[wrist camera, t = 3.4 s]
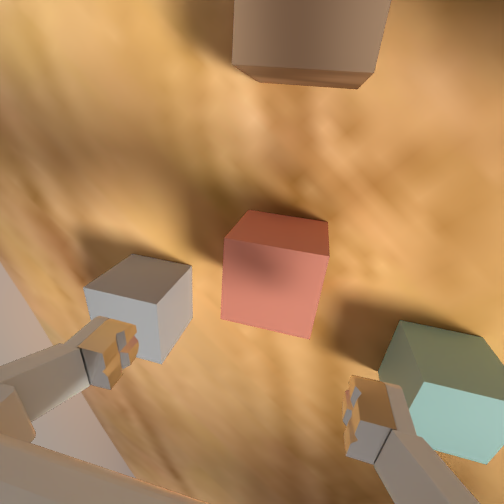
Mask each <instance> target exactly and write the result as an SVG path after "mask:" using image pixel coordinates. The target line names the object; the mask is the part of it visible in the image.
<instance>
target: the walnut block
mask: <svg viewBox="0 0 504 504" xmlns="http://www.w3.org/2000/svg"><path fill="white" fill-rule="evenodd" d="M390 4H391V0H234V23H233V47H232V65H233V66H235V67H237V68H238V69H240V70H241V71H243V72H244V73H246V74H247V75H249V76H250V77H252V78H253V79H255V80H256V81H258V82H261V83H275V84H289V85H304V86H318V87H333V88H347V89H358V88H359V87H360V86H361V85H362V84H363V83H364V82H365V81H366V80H367V79H368V78H369V77H370V76H371V75H372V74H373V73H374V71H375V66H376V62H377V58H378V54H379V50H380V45H381V41H382V37H383V33H384V29H385V24H386V20H387V16H388V12H389V8H390Z"/></svg>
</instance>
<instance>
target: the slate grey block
mask: <svg viewBox="0 0 504 504" xmlns="http://www.w3.org/2000/svg"><path fill="white" fill-rule="evenodd" d="M83 288H84V293H85V297H86V301H87V306H88V310H89V315H90V319H91V320H92V319H94V318H95V317H97V316H103V317H107V318H111V319H115V320H119V321H123V322H126V323H130V324H133V325H136V329H137V333H136V334H135V335H134V336H135V337H136V338H137V340H138V342H139V349H138V353H137V355H136V357H137V358H141V359H145V360H148V361H152V362H156V363H159V364H162V363H163V361H164V360H165V358H166V357H167V355H168V354H169V352H170V351H171V350H172V348H173V347H174V345H175V344H176V342H177V341H178V339H179V338H180V336H181V335H182V333H183V332H184V330H185V329H186V327H187V326H188V324H189V323H190V321H191V320H192V318H193V312H192V266H190V265H185V264H180V263H175V262H170V261H166V260H161V259H156V258H151V257H146V256H141V255H136V254H131V255H130V256H128V257H127V258H125V259H124V260H123V261H121V262H120V263H118V264H117V265H115V266H114V267H112V268H111V269H109V270H108V271H106V272H105V273H104V274H102V275H101V276H99V277H98V278H96V279H95V280H93V281H92V282H90V283H89V284H88V285H86V286H85V287H83Z"/></svg>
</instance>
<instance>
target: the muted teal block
mask: <svg viewBox="0 0 504 504" xmlns="http://www.w3.org/2000/svg"><path fill="white" fill-rule="evenodd" d="M378 374H379V379H380V381H382V382H386V383H390V384H395V385H399V386H400V387H401V388H402V390H403V393H404V396H405V399H406V403H407V406H408V409H409V412H410V415H411V418H412V421H413V424H414V428H415V431H416V434H417V436H420V437H423V439H424V440H425V441H426V442H427V443H428V444H429V445H430V447H431V448H432V449H433V450H436V451H440V452H443V453H447V454H451V455H454V456H458V457H461V458H465V459H468V460H472V461H476V462H479V463H483V464H486V465H487V464H488V462H489V461H490V460H491V459H492V458H493V457H494V456H495V455H496V453H497V452H498V451H499V450H500V449H501V448H502V447H503V445H504V365H503V364H502V362H501V361H500V360H499V358H498V357H497V356H496V354H495V353H494V352H493V350H492V349H491V348H490V346H489V345H488V344H487V342H486V341H485V340H484V338H483V337H479V336H474V335H469V334H464V333H460V332H455V331H450V330H445V329H441V328H436V327H431V326H426V325H421V324H417V323H412V322H407V321H402V320H400V321H399V323H398V326H397V328H396V330H395V333H394V335H393V337H392V340H391V342H390V344H389V347H388V349H387V351H386V354H385V356H384V359H383V361H382V363H381V366H380V368H379V370H378Z"/></svg>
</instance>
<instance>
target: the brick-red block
mask: <svg viewBox="0 0 504 504" xmlns="http://www.w3.org/2000/svg"><path fill="white" fill-rule="evenodd" d="M329 257H330V256H329V237H328V222H324V221H318V220H312V219H305V218H299V217H292V216H286V215H279V214H273V213H267V212H260V211H254V210H248V211H247V212H246V213H245V214H244V216H243V217H242V218H241V219H240V220H239V221H238V223H237V224H236V225H235V226H234V227H233V228H232V229H231V231H230V232H229V233H228V234H227V235H226V236H225V237H224V252H223V276H222V299H221V319H223V320H228V321H232V322H236V323H241V324H245V325H249V326H254V327H258V328H262V329H267V330H271V331H275V332H280V333H284V334H288V335H292V336H297V337H301V338H305V339H310V336H311V332H312V327H313V323H314V319H315V315H316V311H317V307H318V302H319V298H320V294H321V290H322V286H323V282H324V277H325V273H326V269H327V265H328V261H329Z"/></svg>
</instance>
